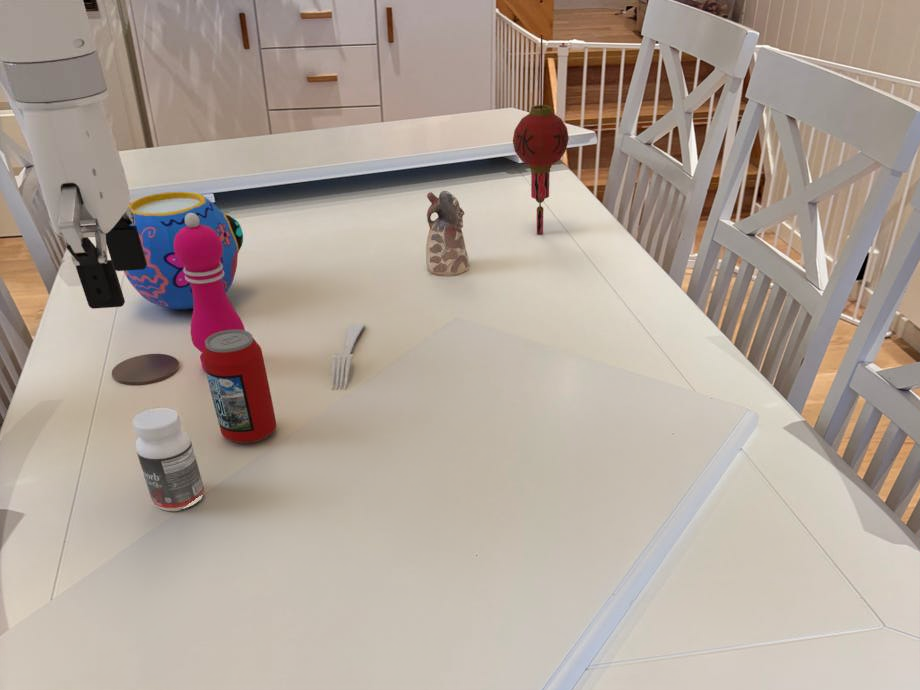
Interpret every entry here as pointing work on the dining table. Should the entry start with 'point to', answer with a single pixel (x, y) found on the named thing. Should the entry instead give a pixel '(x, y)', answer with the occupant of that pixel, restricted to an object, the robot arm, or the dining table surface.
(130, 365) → the coaster
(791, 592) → the dining table surface
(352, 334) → the fork
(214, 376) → the beverage can
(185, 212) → the ceramic pot
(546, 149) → the lantern
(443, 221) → the figurine
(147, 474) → the pill bottle
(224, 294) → the pepper mill
